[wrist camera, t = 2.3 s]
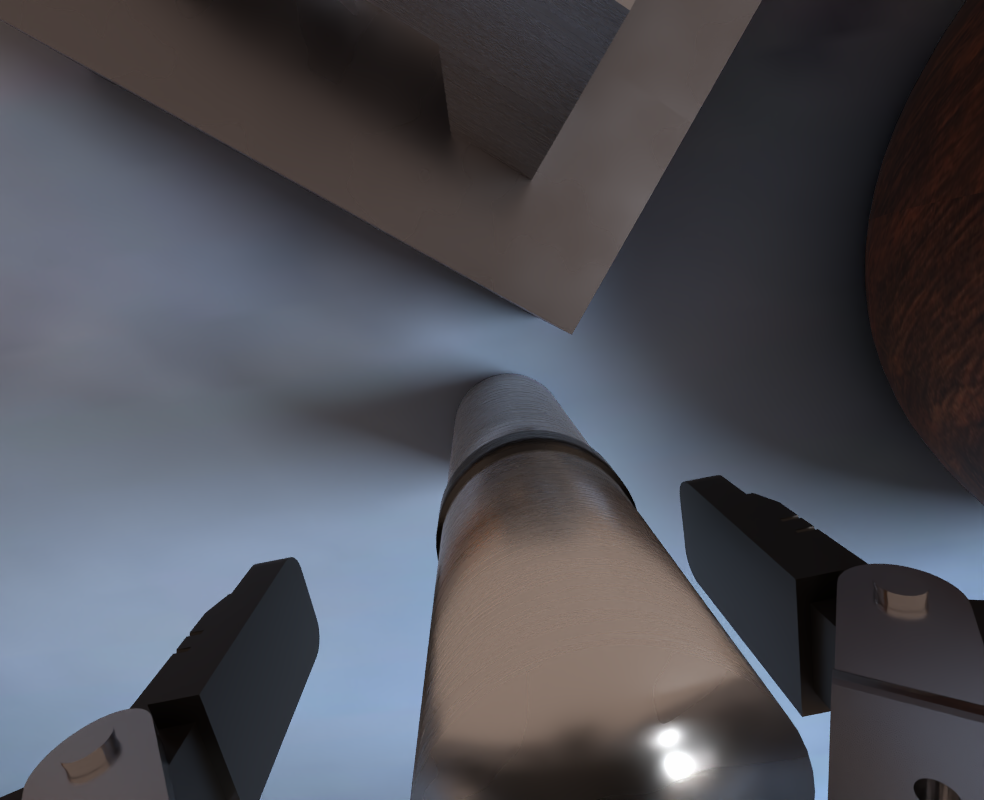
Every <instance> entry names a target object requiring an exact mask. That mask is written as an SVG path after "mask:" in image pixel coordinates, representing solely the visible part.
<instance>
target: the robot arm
mask: <svg viewBox="0 0 984 800" xmlns="http://www.w3.org/2000/svg"><path fill="white" fill-rule="evenodd" d="M680 501H681V510H682V520H683V530H684V539H685V549H686V555H687V559H688V563H689V566H690V568H691V571H692V573H693V575H694V577H695V579H696V581H697V582H698V584H699V585H700V586H701V587H702V589H703V590H704V591H705V593H706V594H707V595H708V596H709V598H710V599H711V600H712V602H713V603H714V604H715V605H716V607H717V608H718V609H719V611H720V612H721V613H722V614H723V616H724V617H725V618H726V620H727V621H728V622H729V623H730V625H731V626H732V627H733V629H734V630H735V631H736V632H737V634H738V635H739V636H740V638H741V639H742V640H743V641H744V643H745V644H746V645H747V647H748V648H749V649H750V650H751V652H752V653H753V654H754V656H755V657H756V658H757V659H758V661H759V662H760V663H761V665H762V666H763V667H764V668H765V670H766V671H767V672H768V673H769V675H770V676H771V677H772V679H773V680H774V681H775V682H776V684H777V685H778V686H779V688H780V689H781V690H782V691H783V693H784V694H785V695H786V697H787V698H788V699H789V700H790V702H791V703H792V704H793V706H794V707H795V708H796V709H797V711H798V712H799V713H800V715H801V716H802V717H804V716H809V715H814V714H819V713H824V712H829V711H831V719H830V751H829V782H828V800H984V600H968V598H967V597H966V596H965V595H964V594H963V593H962V592H961V591H960V590H959V589H958V588H956V587H955V586H953V585H952V584H950V583H949V582H947V581H945V580H943V579H941V578H939V577H937V576H934V575H932V574H930V573H927V572H924V571H921V570H918V569H914V568H909V567H905V566H899V565H892V564H867V563H866V562H864V561H863V560H862V559H860V558H859V557H857V556H856V555H854V554H853V553H851V552H850V551H849V550H847V549H846V548H844V547H843V546H841V545H840V544H838V543H837V542H836V541H834V540H833V539H831V538H830V537H828V536H827V535H826V534H824V533H823V532H821V531H820V530H818V529H817V530H815V529H814V526H813V525H811V524H810V523H808V522H807V521H805V520H804V519H802V518H798V515H797V514H795V513H794V512H792V511H791V510H789V509H788V508H787V507H785V506H784V505H782V504H781V503H779V502H777V501H774V500H771V499H768V498H766V497H763V496H760V495H757V494H754V493H751V494H745V493H744V492H743V491H741V490H740V489H739V488H737V487H736V486H735V485H733V484H732V483H731V482H729V481H728V480H727V479H725V478H724V477H722V476H721V475H716V476H711V477H706V478H700V479H695V480H690V481H685V482H682V484H681V486H680ZM318 649H319V627H318V622H317V618H316V615H315V612H314V609H313V605H312V602H311V599H310V596H309V592H308V589H307V586H306V583H305V579H304V576H303V573H302V570H301V567H300V565H299V563H298V561H297V560H296V559H295V558H293V557H290V558H285V559H279V560H274V561H269V562H264V563H259V564H255V565H253V566H252V567H251V568H250V570H249V571H248V572H247V574H246V575H245V576H244V578H243V579H242V580H241V582H240V583H239V584H238V586H237V587H236V588H235V590H234V591H233V592H232V594H229V595H227V596H226V597H225V598H224V599H222V600H221V601H220V602H219V603H217V604H216V605H215V606H214V607H212V608H211V609H210V610H209V611H207V612H206V613H205V614H204V615H203V617H202V618H201V619H200V621H199V622H198V623H197V624H196V626H195V627H194V628H193V629H192V631H191V632H190V636H188V637H186V638H185V639H184V641H183V642H182V643H181V645H180V646H179V647H178V648H177V653H176V654H173V655H172V656H171V657H170V658H169V660H168V661H167V662H166V663H165V665H164V666H163V667H162V669H161V670H160V671H159V672H158V674H157V675H156V676H155V677H154V679H153V680H152V681H151V682H150V684H149V685H148V686H147V687H146V689H145V690H144V691H143V693H142V694H141V695H140V696H139V698H138V699H137V700H136V701H135V703H134V704H133V705H132V706H131V708H130V709H126V710H122V711H118V712H115V713H112V714H109V715H107V716H105V717H102V718H100V719H98V720H96V721H94V722H92V723H90V724H89V725H87V726H85V727H83V728H82V729H80V730H79V731H77V732H76V733H74V734H73V735H71V736H70V737H68V738H67V739H66V740H64V741H63V742H62V743H60V744H59V745H58V746H57V747H56V748H55V749H53V750H52V751H51V752H50V753H49V754H48V755H47V756H46V757H45V758H44V759H43V760H42V761H41V762H40V763H39V764H38V766H37V767H36V768H35V769H34V771H33V772H32V773H31V775H30V776H29V778H28V780H27V782H26V784H25V786H24V788H22V789H19V790H17V791H15V792H12V793H10V794H7V795H5V796H3V797H0V800H259V799H260V797H261V794H262V792H263V789H264V787H265V784H266V782H267V779H268V777H269V774H270V772H271V769H272V767H273V764H274V762H275V759H276V757H277V754H278V752H279V749H280V747H281V744H282V742H283V739H284V737H285V734H286V732H287V729H288V727H289V724H290V722H291V719H292V717H293V714H294V712H295V709H296V707H297V704H298V702H299V699H300V697H301V694H302V692H303V689H304V687H305V684H306V682H307V679H308V677H309V674H310V672H311V669H312V667H313V664H314V662H315V659H316V657H317V654H318Z"/></svg>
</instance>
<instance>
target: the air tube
mask: <svg viewBox="0 0 984 800" xmlns="http://www.w3.org/2000/svg"><path fill="white" fill-rule="evenodd" d="M436 549H437V556H438V569H437V577H436V586H435V594H434V603H433V611H432V620H431V628H430V637H429V645H428V653H427V662H426V670H425V679H424V687H423V696H422V704H421V713H420V721H419V730H418V738H417V747H416V755H415V764H414V772H413V781H412V789H411V798H410V800H814V798H815V788H814V777H813V770H812V766H811V762H810V759H809V755H808V751H807V749H806V747H805V745H804V743H803V741H802V738H801V736H800V734H799V732H798V730H797V729H796V727H795V726H794V725H793V723H792V722H791V720H790V719H789V717H788V716H787V714H786V713H785V712H784V710H783V709H782V708H781V706H780V705H779V703H778V702H777V701H776V699H775V698H774V697H773V695H772V694H771V693H770V691H769V690H768V688H767V687H766V686H765V684H764V683H763V682H762V680H761V679H760V678H759V676H758V675H757V673H756V672H755V671H754V669H753V668H752V667H751V665H750V664H749V663H748V661H747V660H746V658H745V657H744V656H743V654H742V653H741V652H740V650H739V649H738V648H737V646H736V645H735V643H734V642H733V641H732V639H731V638H730V637H729V635H728V634H727V632H726V631H725V630H724V628H723V627H722V626H721V624H720V623H719V622H718V620H717V619H716V617H715V616H714V615H713V613H712V612H711V611H710V609H709V608H708V607H707V605H706V604H705V602H704V601H703V600H702V598H701V597H700V596H699V594H698V593H697V592H696V590H695V589H694V587H693V586H692V585H691V583H690V582H689V581H688V579H687V578H686V577H685V575H684V574H683V572H682V571H681V570H680V568H679V567H678V566H677V564H676V563H675V562H674V560H673V559H672V557H671V556H670V555H669V553H668V552H667V551H666V549H665V548H664V546H663V545H662V544H661V542H660V541H659V540H658V538H657V537H656V536H655V534H654V533H653V531H652V530H651V529H650V527H649V526H648V525H647V523H646V522H645V521H644V519H643V518H642V516H641V515H640V514H639V512H638V511H637V509H636V506H635V503H634V501H633V499H632V497H631V495H630V493H629V491H628V489H627V488H626V486H625V485H624V484H623V482H622V481H621V479H620V478H619V477H618V475H617V474H616V473H615V472H614V470H613V469H612V468H611V466H610V465H609V464H608V463H607V461H606V460H605V459H604V458H603V457H602V456H601V455H600V454H599V453H598V452H596V451H595V450H594V449H593V448H591V447H590V445H589V444H588V443H587V441H586V440H585V439H584V437H583V436H582V435H581V433H580V432H579V430H578V429H577V428H576V426H575V425H574V424H573V422H572V421H571V420H570V418H569V417H568V415H567V414H566V413H565V411H564V410H563V409H562V407H561V406H560V405H559V403H558V402H557V400H556V399H555V398H554V396H553V395H552V394H551V392H550V391H549V390H548V389H547V388H546V387H544V386H543V385H542V384H541V383H539V382H537V381H536V380H534V379H532V378H529V377H526V376H523V375H518V374H500V375H496V376H492V377H490V378H487V379H485V380H483V381H481V382H479V383H478V384H477V385H475V386H474V387H473V388H472V389H471V390H470V391H469V392H468V393H467V394H466V395H465V396H464V398H463V400H462V401H461V403H460V405H459V407H458V410H457V413H456V418H455V425H454V433H453V441H452V450H451V458H450V467H449V475H448V484H447V487H446V489H445V491H444V494H443V498H442V501H441V507H440V513H439V520H438V528H437V535H436Z"/></svg>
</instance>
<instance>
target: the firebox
mask: <svg viewBox="0 0 984 800" xmlns="http://www.w3.org/2000/svg"><path fill="white" fill-rule="evenodd" d="M761 1H762V0H0V20H1V21H3V22H5V23H7V24H9V25H10V26H12V27H14V28H16V29H17V30H19V31H21V32H23V33H25V34H26V35H28V36H30V37H32V38H33V39H35V40H37V41H39V42H41V43H42V44H44V45H46V46H48V47H50V48H51V49H53V50H55V51H57V52H58V53H60V54H62V55H64V56H66V57H67V58H69V59H71V60H73V61H74V62H76V63H78V64H80V65H82V66H83V67H85V68H87V69H89V70H91V71H92V72H94V73H96V74H98V75H100V76H101V77H103V78H105V79H107V80H109V81H110V82H112V83H114V84H116V85H118V86H120V87H121V88H123V89H125V90H127V91H129V92H130V93H132V94H134V95H136V96H138V97H139V98H141V99H143V100H145V101H147V102H149V103H150V104H152V105H154V106H156V107H158V108H159V109H161V110H163V111H165V112H167V113H168V114H170V115H172V116H174V117H176V118H177V119H179V120H181V121H183V122H185V123H187V124H188V125H190V126H192V127H194V128H196V129H197V130H199V131H201V132H203V133H205V134H206V135H208V136H210V137H212V138H214V139H216V140H217V141H219V142H221V143H223V144H225V145H226V146H228V147H230V148H232V149H234V150H235V151H237V152H239V153H241V154H243V155H244V156H246V157H248V158H250V159H252V160H254V161H255V162H257V163H259V164H261V165H263V166H264V167H266V168H268V169H270V170H272V171H273V172H275V173H277V174H279V175H281V176H283V177H284V178H286V179H288V180H290V181H292V182H293V183H295V184H297V185H299V186H301V187H302V188H304V189H306V190H308V191H310V192H311V193H313V194H315V195H317V196H319V197H321V198H322V199H324V200H326V201H328V202H330V203H331V204H333V205H335V206H337V207H339V208H340V209H342V210H344V211H346V212H348V213H350V214H351V215H353V216H355V217H357V218H359V219H360V220H362V221H364V222H366V223H368V224H369V225H371V226H373V227H375V228H377V229H378V230H380V231H382V232H384V233H386V234H388V235H389V236H391V237H393V238H395V239H397V240H398V241H400V242H402V243H404V244H406V245H407V246H409V247H411V248H413V249H415V250H417V251H418V252H420V253H422V254H424V255H426V256H427V257H429V258H431V259H433V260H435V261H436V262H438V263H440V264H442V265H444V266H445V267H447V268H449V269H451V270H453V271H455V272H456V273H458V274H460V275H462V276H464V277H465V278H467V279H469V280H471V281H473V282H474V283H476V284H478V285H480V286H482V287H484V288H485V289H487V290H489V291H491V292H493V293H494V294H496V295H498V296H500V297H502V298H503V299H505V300H507V301H509V302H511V303H512V304H514V305H516V306H518V307H520V308H522V309H523V310H525V311H527V312H529V313H531V314H532V315H534V316H536V317H538V318H540V319H542V320H544V321H546V322H548V323H550V324H552V325H554V326H556V327H558V328H560V329H562V330H564V331H566V332H568V333H570V334H572V333H573V331H574V330H575V328H576V326H577V324H578V323H579V321H580V319H581V317H582V316H583V314H584V312H585V310H586V309H587V307H588V305H589V303H590V302H591V300H592V298H593V296H594V295H595V293H596V291H597V289H598V288H599V286H600V284H601V282H602V281H603V279H604V277H605V275H606V273H607V272H608V270H609V268H610V266H611V265H612V263H613V261H614V259H615V258H616V256H617V254H618V252H619V251H620V249H621V247H622V245H623V244H624V242H625V240H626V238H627V237H628V235H629V233H630V231H631V230H632V228H633V226H634V224H635V223H636V221H637V219H638V217H639V215H640V214H641V212H642V210H643V208H644V207H645V205H646V203H647V201H648V200H649V198H650V196H651V194H652V193H653V191H654V189H655V187H656V186H657V184H658V182H659V180H660V179H661V177H662V175H663V173H664V172H665V170H666V168H667V166H668V165H669V163H670V161H671V159H672V157H673V156H674V154H675V152H676V150H677V149H678V147H679V145H680V143H681V142H682V140H683V138H684V136H685V135H686V133H687V131H688V129H689V128H690V126H691V124H692V122H693V121H694V119H695V117H696V115H697V114H698V112H699V110H700V108H701V107H702V105H703V103H704V101H705V99H706V98H707V96H708V94H709V92H710V91H711V89H712V87H713V85H714V84H715V82H716V80H717V78H718V77H719V75H720V73H721V71H722V70H723V68H724V66H725V64H726V63H727V61H728V59H729V57H730V56H731V54H732V52H733V50H734V48H735V47H736V45H737V43H738V41H739V40H740V38H741V36H742V34H743V33H744V31H745V29H746V27H747V26H748V24H749V22H750V20H751V19H752V17H753V15H754V13H755V12H756V10H757V8H758V6H759V5H760V3H761Z"/></svg>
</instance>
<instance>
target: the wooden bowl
mask: <svg viewBox="0 0 984 800" xmlns="http://www.w3.org/2000/svg"><path fill="white" fill-rule="evenodd" d="M865 287H866V298H867V309H868V316H869V321H870V326H871V331H872V336H873V340H874V344H875V347H876V350H877V353H878V357H879V360H880V363H881V366H882V368H883V370H884V372H885V375H886V377H887V379H888V382H889V384H890V386H891V388H892V390H893V392H894V395H895V397H896V399H897V401H898V403H899V404H900V406H901V408H902V409H903V411H904V413H905V415H906V416H907V418H908V420H909V422H910V423H911V425H912V426H913V428H914V429H915V430H916V432H917V433H918V434H919V435H920V437H921V438H922V439H923V441H924V442H925V443H926V445H927V446H928V447H929V449H930V450H931V451H932V452H933V453H934V455H935V456H936V457H937V458H938V460H939V461H940V462H941V463H942V465H943V466H944V467H945V468H946V469H947V470H948V471H949V472H950V473H951V474H952V475H953V476H954V477H955V479H956V480H957V481H958V482H959V483H960V484H961V485H962V486H963V487H964V488H965V489H966V490H968V491H969V492H970V493H971V494H972V495H973V496H974V497H975V498H976V499H978V500H979V501H980V502H981V503H982V504H983V505H984V0H966V2H965V3H964V5H963V6H962V8H961V9H960V11H959V12H958V14H957V15H956V17H955V18H954V20H953V21H952V23H951V24H950V26H949V27H948V29H947V30H946V32H945V33H944V35H943V36H942V38H941V40H940V41H939V43H938V45H937V47H936V48H935V50H934V52H933V54H932V56H931V57H930V59H929V61H928V63H927V64H926V66H925V68H924V70H923V71H922V73H921V75H920V77H919V79H918V81H917V82H916V84H915V86H914V88H913V90H912V91H911V93H910V96H909V98H908V100H907V102H906V104H905V106H904V108H903V111H902V113H901V115H900V117H899V119H898V121H897V124H896V126H895V128H894V131H893V134H892V137H891V139H890V142H889V145H888V147H887V150H886V153H885V155H884V158H883V162H882V165H881V169H880V172H879V176H878V180H877V183H876V187H875V190H874V196H873V201H872V206H871V211H870V217H869V222H868V232H867V242H866V252H865Z"/></svg>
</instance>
